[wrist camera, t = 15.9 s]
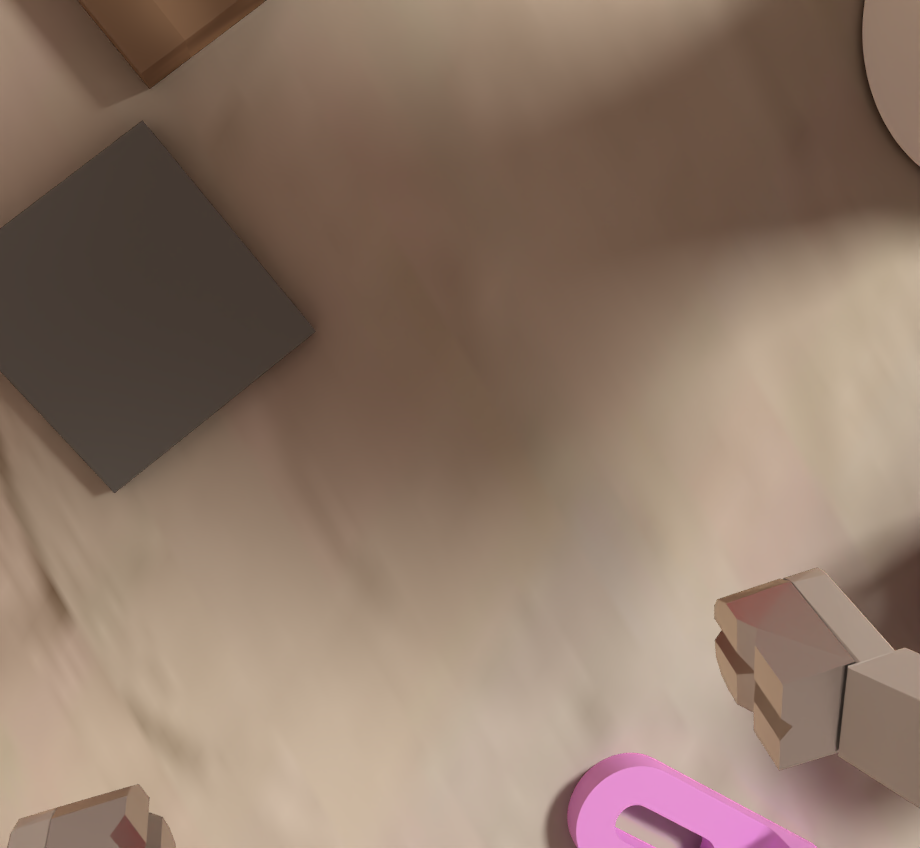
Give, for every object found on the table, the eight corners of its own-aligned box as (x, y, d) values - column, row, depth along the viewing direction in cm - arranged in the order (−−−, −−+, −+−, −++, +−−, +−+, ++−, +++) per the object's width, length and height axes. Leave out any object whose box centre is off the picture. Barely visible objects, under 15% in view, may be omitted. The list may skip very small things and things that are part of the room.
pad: (146, 126, 33) (142, 120, 32) (315, 331, 35) (315, 331, 34) (-67, 289, 32) (-78, 287, 31) (119, 488, 34) (114, 493, 33)
